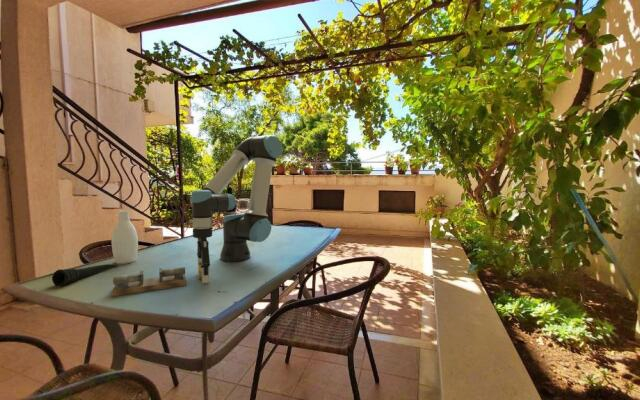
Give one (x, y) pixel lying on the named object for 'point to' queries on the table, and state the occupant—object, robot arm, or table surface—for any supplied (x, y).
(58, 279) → the tool
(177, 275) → the double roll holder
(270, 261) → the table surface
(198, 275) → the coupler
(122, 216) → the bottle
